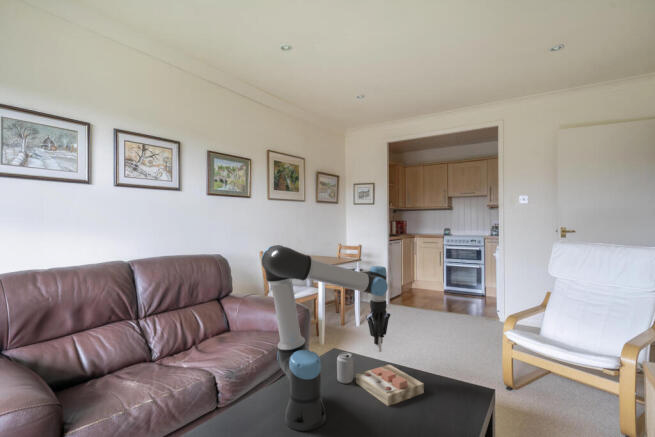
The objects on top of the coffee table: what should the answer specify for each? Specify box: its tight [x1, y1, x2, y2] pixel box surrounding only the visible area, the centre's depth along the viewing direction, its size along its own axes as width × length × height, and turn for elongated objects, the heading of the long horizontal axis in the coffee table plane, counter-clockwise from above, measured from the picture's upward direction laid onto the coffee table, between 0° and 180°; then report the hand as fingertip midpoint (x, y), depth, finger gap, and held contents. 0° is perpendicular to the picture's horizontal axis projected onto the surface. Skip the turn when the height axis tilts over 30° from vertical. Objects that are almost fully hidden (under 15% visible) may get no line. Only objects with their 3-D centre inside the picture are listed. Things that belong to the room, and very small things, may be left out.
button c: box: [371, 366, 385, 376], centre depth 150 cm, size 4×4×4 cm
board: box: [355, 364, 425, 407], centre depth 144 cm, size 20×22×4 cm
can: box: [336, 352, 354, 385], centre depth 151 cm, size 8×8×12 cm
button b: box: [382, 370, 396, 383], centre depth 144 cm, size 4×4×4 cm
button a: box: [392, 376, 407, 390], centre depth 138 cm, size 4×4×4 cm
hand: (378, 350), depth 150 cm, fingers closed
